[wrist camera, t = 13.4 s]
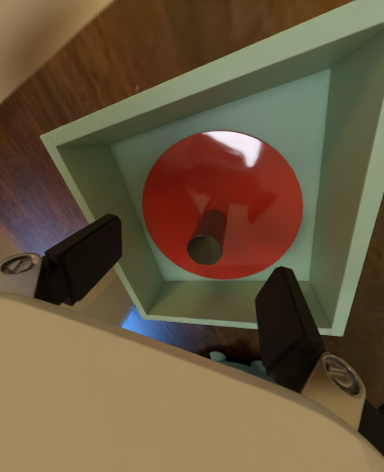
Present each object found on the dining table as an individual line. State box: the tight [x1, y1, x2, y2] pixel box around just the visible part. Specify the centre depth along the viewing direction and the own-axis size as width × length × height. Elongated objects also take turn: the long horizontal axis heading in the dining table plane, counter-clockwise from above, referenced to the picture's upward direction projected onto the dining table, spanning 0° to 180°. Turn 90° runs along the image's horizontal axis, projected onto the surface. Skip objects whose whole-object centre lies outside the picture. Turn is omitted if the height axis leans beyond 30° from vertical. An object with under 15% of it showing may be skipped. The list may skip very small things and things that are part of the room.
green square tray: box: [40, 0, 384, 336], centre depth 14 cm, size 18×18×6 cm
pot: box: [59, 267, 135, 327], centre depth 21 cm, size 13×13×10 cm
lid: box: [142, 130, 303, 280], centre depth 13 cm, size 14×14×6 cm
